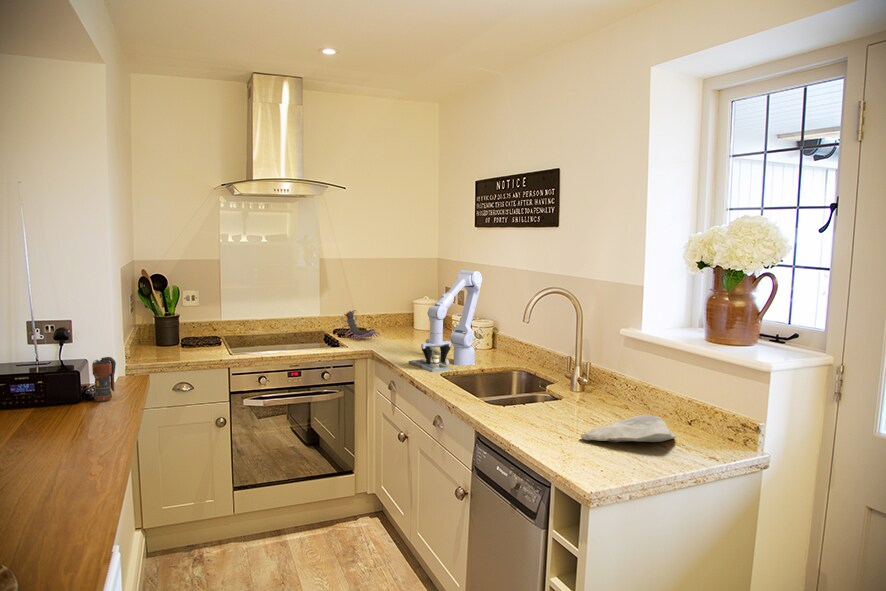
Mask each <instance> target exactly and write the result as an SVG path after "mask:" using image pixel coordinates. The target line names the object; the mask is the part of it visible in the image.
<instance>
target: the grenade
mask: <svg viewBox="0 0 886 591" xmlns="http://www.w3.org/2000/svg"><path fill="white" fill-rule="evenodd" d="M116 366H117V363H116V360H115V359H114V358H113V357H112V356H104V357H101V358H100V360H99V359H96V360H94V361H93V362H92V367H91V368H92V376H93V377H94V390H95V391H94V397H93V398H94V399H93V400H95V402H98V403H103V402H109V401H111V399H112V397H113V395H112V392H115V373H116Z"/></svg>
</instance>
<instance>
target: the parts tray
mask: <svg viewBox="0 0 886 591" xmlns="http://www.w3.org/2000/svg"><path fill="white" fill-rule="evenodd" d="M450 368H451V367H450V366H449V365H446V364H442V363H439V368H437V369H432V364H428V365H422V368H421V369H423V370H425V371H429V372H432V373H436V372H444V371H450Z"/></svg>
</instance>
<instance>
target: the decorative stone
mask: <svg viewBox="0 0 886 591" xmlns="http://www.w3.org/2000/svg"><path fill="white" fill-rule="evenodd" d="M580 438H581V439H582V440H585V441H607V442H610V443H622V442H646V443H659V442H665V441H670V440H673V439H676V438H677V436H676V434H675V433H673V432H672V430H670V429H669V427H668V425H667V423H666V422H665V420H663V418H661V417H660V416H657V415H656V416H655V415H652V414H637V415H634V416H632V417H628V418H627V419H626V418H625V419H620V420H617V421H614V422H612V423H610V424H609V425H606V426H599V427H596V428H594V429H591V430H589V431H588V433H582V434H581V435H580Z"/></svg>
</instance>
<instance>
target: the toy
mask: <svg viewBox="0 0 886 591" xmlns="http://www.w3.org/2000/svg"><path fill="white" fill-rule="evenodd" d="M355 312H356V314H358V312H357V310H349V311H347V312H346V314H345V313H343V315H344V316H345V317H344V318H345V319H346V320H345V319H343V316H342V315H341V316H340V319H341V321H343V322H345V323H347V324H346V325H344V326H342V327H341V329H344V328H347V327H348V328H349V330H348V331H346V332H345V334H344V337H345V338H348V336H349V335H351V337H350V340H352V339H353V341H354V339H355V340H360V339H361V340H363V338H364V339H365V338H367V337H368V338H371V339H372V338H374V339H376V337H377V338H378V336H381V334H380V333H379V332H378V331H376V329H373V328H372V329H371V328H370V329H369V330H366V331H361V330H360V329H359V327H358V325H357V324H356V323H355V322H356V321H357V319H358V317H357V316H356V315H355ZM354 317H355V318H354ZM349 332H350V333H349ZM375 336H376V337H375Z"/></svg>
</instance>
